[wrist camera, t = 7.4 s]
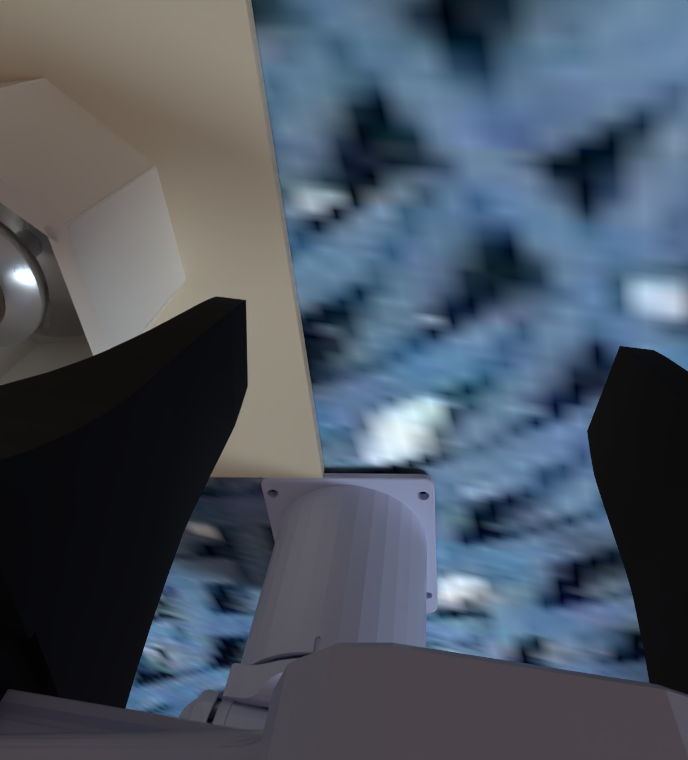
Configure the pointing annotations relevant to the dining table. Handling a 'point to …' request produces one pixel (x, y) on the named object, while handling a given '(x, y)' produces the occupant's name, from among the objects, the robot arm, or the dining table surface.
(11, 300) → the lid
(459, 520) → the dining table surface
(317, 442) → the press stand
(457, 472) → the dining table surface
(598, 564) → the dining table surface
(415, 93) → the dining table surface
